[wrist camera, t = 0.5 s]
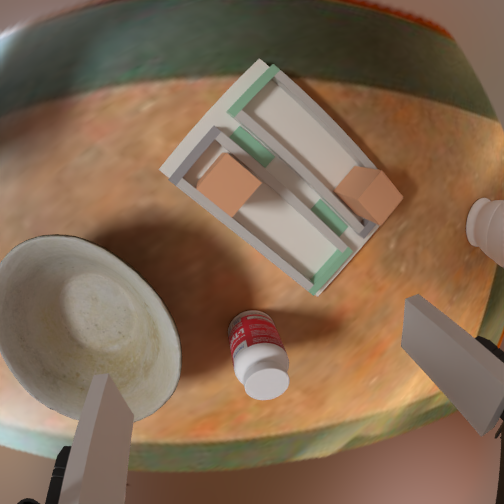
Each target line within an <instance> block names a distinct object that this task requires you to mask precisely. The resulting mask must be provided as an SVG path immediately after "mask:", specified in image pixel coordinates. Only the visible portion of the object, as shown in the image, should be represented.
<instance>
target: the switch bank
mask: <svg viewBox="0 0 504 504" xmlns="http://www.w3.org/2000/svg"><path fill="white" fill-rule="evenodd" d="M221 153H228V154H229V155H230V156H231V157H232V158H234V159H235V160H236V161H237V162H238V163H240V164H241V165H242V166H243V167H244V168H245V169H247V170H248V171H249V172H250V173H251V174H252V175H254V176H255V177H256V178H257V179H258V180H259V181H260V182H262V184H261V185H260V186H259V187H258V188H257V189H256V190H255V192H254V193H253V194H252V195H251V196H250V197H249V198H248V200H247V201H246V202H245V203H244V204H243V205H242V207H241V208H240V209H239V210H238V211H237V212H236V214H235V215H234V216H233V217H232V218H231V217H230V216H229V215H228V214H227V213H225V212H224V211H223V210H222V209H220V208H219V207H218V206H217V205H215V204H214V203H213V202H212V201H210V200H209V199H208V198H207V197H205V196H204V195H203V194H202V193H200V192H199V191H198V190H197V189H196V187H197V182H198V180H199V179H200V178H201V177H202V176H203V174H204V173H205V172H206V171H207V170H208V169H209V167H210V166H211V165H212V164H213V163H214V161H215V160H216V159H217V158H218V157H219V156H220V154H221ZM354 166H359V167H365V168H371V169H377V168H376V167H375V165H374V164H373V163H372V162H371V161H370V159H369V158H368V157H367V156H366V155H365V154H364V153H363V152H362V150H361V149H360V148H359V147H358V146H357V145H356V144H355V143H354V142H353V140H352V139H351V138H350V137H349V136H348V135H347V134H346V133H345V132H344V131H343V130H342V129H341V128H340V127H339V125H338V124H337V123H336V122H335V121H334V120H333V119H332V118H331V117H330V116H329V115H328V114H327V113H326V112H325V111H324V110H323V109H322V108H321V107H320V106H319V105H318V104H317V103H316V102H315V101H314V100H313V99H312V98H310V97H309V96H308V95H307V94H306V93H305V92H304V91H303V90H302V89H301V88H300V87H299V86H298V85H297V84H295V83H294V82H293V81H292V80H291V79H290V78H289V77H288V76H287V75H285V74H284V73H283V72H282V71H281V70H280V69H279V68H277V67H276V66H275V65H274V64H272V65H271V66H270V67H269V66H268V65H267V64H265V63H264V62H263V61H262V60H261V59H258V60H257V61H256V62H255V63H254V64H253V65H252V66H251V67H250V68H249V69H248V70H247V71H246V72H245V73H244V74H243V75H242V76H241V77H240V78H239V79H238V80H237V81H236V82H235V83H234V84H233V85H232V86H231V87H230V88H229V89H228V90H227V91H226V92H225V94H224V95H223V96H222V97H221V98H220V99H219V100H218V101H217V102H216V103H215V104H214V105H213V106H212V107H211V109H210V110H209V111H208V112H207V113H206V114H205V115H204V116H203V117H202V119H201V120H200V121H199V122H198V123H197V124H196V125H195V126H194V128H193V129H192V130H191V131H190V132H189V133H188V135H187V136H186V137H185V138H184V139H183V141H182V142H181V143H180V144H179V145H178V146H177V148H176V149H175V150H174V151H173V153H172V154H171V155H170V156H169V157H168V159H167V160H166V161H165V162H164V164H163V165H162V166H161V168H160V169H159V170H160V171H161V172H162V173H164V174H165V175H166V176H167V177H169V179H168V180H169V181H170V182H172V183H173V184H174V185H175V186H177V187H178V188H179V189H181V190H182V191H183V192H184V193H186V194H187V195H188V196H189V197H191V198H192V199H193V200H194V201H196V202H197V203H198V204H199V205H201V206H202V207H203V208H204V209H206V210H207V211H208V212H210V213H211V214H212V215H213V216H215V217H216V218H217V219H218V220H220V221H221V222H222V223H223V224H225V225H226V226H227V227H228V228H230V229H231V230H232V231H233V232H235V233H236V234H237V235H238V236H240V237H241V238H242V239H243V240H245V241H246V242H247V243H248V244H250V245H251V246H252V247H253V248H255V249H256V250H257V251H258V252H260V253H261V254H262V255H263V256H265V257H266V258H267V259H268V260H270V261H271V262H272V263H273V264H275V265H276V266H277V267H278V268H280V269H281V270H282V271H283V272H285V273H286V274H287V275H288V276H290V277H291V278H292V279H293V280H295V281H296V282H297V283H298V284H300V285H301V286H302V287H303V288H305V289H306V290H307V291H308V292H310V293H311V294H312V295H313V296H314V295H316V296H317V297H318V296H319V295H320V294H321V292H322V291H323V290H324V289H325V288H326V287H327V286H328V285H329V284H330V283H331V281H332V280H333V279H334V278H335V277H336V276H337V275H338V274H339V273H340V271H341V270H342V269H343V268H344V267H345V266H346V265H347V264H348V262H349V261H350V260H351V259H352V258H353V257H354V256H355V254H356V253H357V252H358V251H359V250H360V249H361V247H362V246H363V245H364V244H365V243H366V242H367V240H368V239H369V238H370V237H371V236H372V234H373V233H374V232H375V231H376V230H377V228H378V227H379V226H380V225H378V224H375V223H373V222H371V221H369V220H367V219H365V218H363V217H361V216H359V215H357V214H355V213H354V212H353V211H352V210H351V209H350V208H349V207H348V206H347V205H346V204H345V203H344V202H343V201H342V200H341V199H340V198H339V197H338V196H337V195H336V194H335V193H334V192H333V190H334V189H335V188H336V187H337V186H338V185H339V183H340V182H341V181H342V180H343V179H344V178H345V176H346V175H347V174H348V173H349V172H350V171H351V169H352V168H353V167H354ZM377 170H378V169H377Z"/></svg>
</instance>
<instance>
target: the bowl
mask: <svg viewBox="0 0 504 504" xmlns="http://www.w3.org/2000/svg"><path fill="white" fill-rule="evenodd" d="M0 353H1V355H2V357H3V359H4V361H5V362H6V364H7V366H8V368H9V369H10V371H11V372H12V373H13V375H14V376H15V378H16V379H17V380H18V381H19V383H20V384H21V385H22V386H23V387H24V389H25V390H26V391H27V392H28V393H29V394H30V395H31V396H33V397H34V398H35V399H36V400H38V401H39V402H41V403H42V404H44V405H45V406H47V407H48V408H50V409H52V410H55V411H57V412H58V413H60V414H62V415H65V416H67V417H70V418H72V419H76V420H79V419H80V416H81V412H82V409H83V406H84V403H85V400H86V397H87V394H88V391H89V388H90V385H91V382H92V379H93V376H94V375H99V374H106V373H109V374H110V376H111V378H112V380H113V381H114V383H115V385H116V387H117V388H118V390H119V392H120V393H121V395H122V397H123V398H124V400H125V402H126V403H127V405H128V406H129V408H130V409H131V411H132V413H133V414H134V421H133V423H134V422H136V421H139V420H141V419H143V418H146V417H148V416H150V415H151V414H153V413H155V412H156V411H157V410H158V409H159V408H161V407H162V406H163V405H164V404H165V403H166V402H167V401H168V400H169V399H170V397H171V396H172V395H173V393H174V391H175V390H176V387H177V385H178V382H179V379H180V372H181V366H182V350H181V342H180V337H179V334H178V330H177V327H176V324H175V322H174V319H173V317H172V315H171V313H170V311H169V310H168V308H167V306H166V305H165V303H164V302H163V300H162V299H161V297H160V296H159V295H158V294H157V292H156V291H155V290H154V289H153V287H152V286H151V285H150V284H149V283H148V282H147V280H146V279H145V278H144V277H143V276H142V275H141V274H140V273H139V272H138V271H137V270H135V269H134V268H133V267H132V266H131V265H129V264H128V263H127V262H126V261H124V260H123V259H121V258H120V257H118V256H117V255H115V254H114V253H113V252H111V251H109V250H107V249H106V248H104V247H102V246H100V245H98V244H96V243H93V242H91V241H88V240H86V239H83V238H79V237H76V236H70V235H59V234H56V235H42V236H38V237H35V238H32V239H29V240H26V241H24V242H22V243H20V244H19V245H17V246H16V247H14V248H13V249H12V250H11V251H10V252H9V253H8V254H7V255H6V256H5V258H4V259H3V260H2V261H1V263H0Z"/></svg>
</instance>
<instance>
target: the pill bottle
mask: <svg viewBox="0 0 504 504" xmlns="http://www.w3.org/2000/svg"><path fill="white" fill-rule="evenodd" d="M228 337H229V343H230V349H231V355H232V360H233V366H234V371H235V375H236V377H237V378H238V380H239V381H240V382H241V383H242V384H244V387H245V391H246V393H247V394H248V395H249V396H250V397H252V398H254V399H258V400H269V399H273V398H276V397H278V396H280V395H281V394H282V393H284V392H285V390H286V389H287V388H288V385H289V376H288V373H287V371H288V367H289V359H288V356H287V353H286V351H285V348H284V346H283V344H282V341H281V339H280V336H279V334H278V332H277V329H276V327H275V324H274V322H273V320H272V319H271V317H270V316H268V315H267V314H266V313H264V312H261V311H257V310H250V311H245V312H242V313H240V314H239V315H237V316H236V317H235V318H234V319H233V320H232V321H231V323H230V325H229V328H228Z"/></svg>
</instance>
